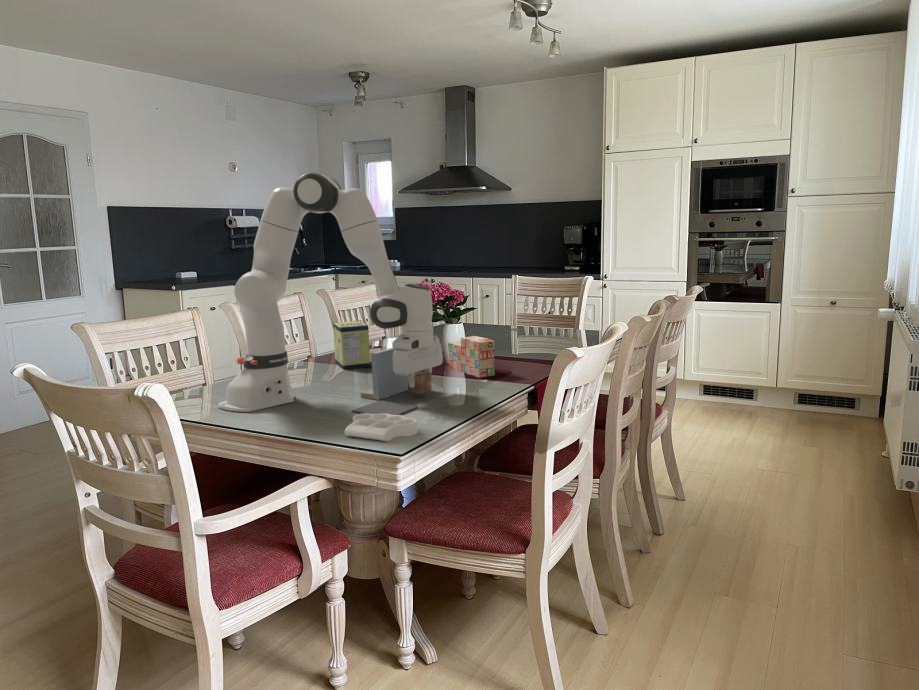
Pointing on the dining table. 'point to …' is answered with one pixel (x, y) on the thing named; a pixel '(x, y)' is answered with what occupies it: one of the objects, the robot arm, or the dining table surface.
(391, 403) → the mat
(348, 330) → the protein box
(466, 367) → the stack of blocks
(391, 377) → the pale blue flat slab
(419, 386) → the walnut cube
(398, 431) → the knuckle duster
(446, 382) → the dining table surface
